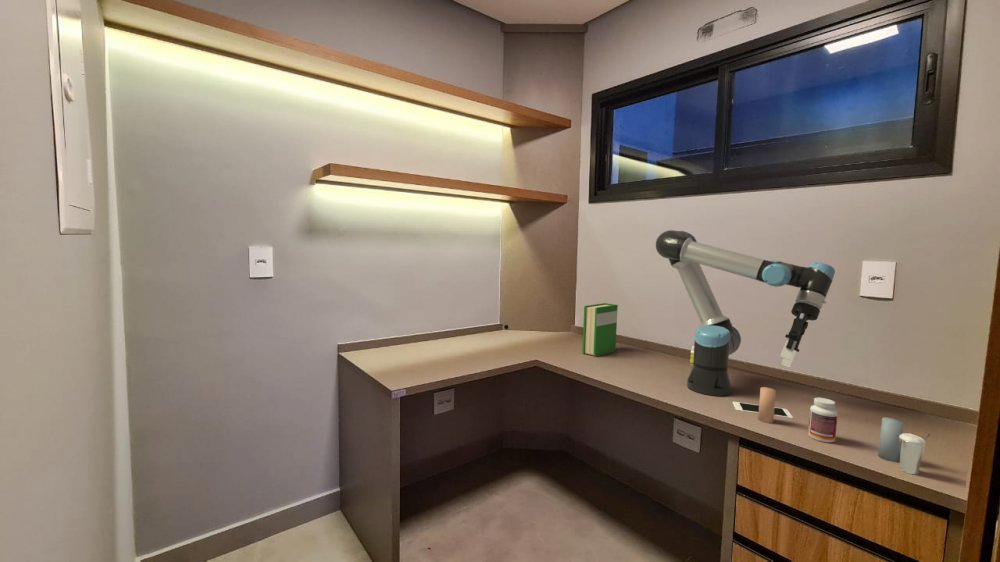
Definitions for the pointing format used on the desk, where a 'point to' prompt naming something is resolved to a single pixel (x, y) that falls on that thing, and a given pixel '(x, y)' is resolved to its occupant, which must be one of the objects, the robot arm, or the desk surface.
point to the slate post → (890, 439)
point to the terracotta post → (766, 404)
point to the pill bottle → (823, 420)
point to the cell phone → (755, 409)
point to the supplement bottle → (692, 356)
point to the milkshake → (911, 452)
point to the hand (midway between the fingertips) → (784, 362)
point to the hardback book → (599, 329)
